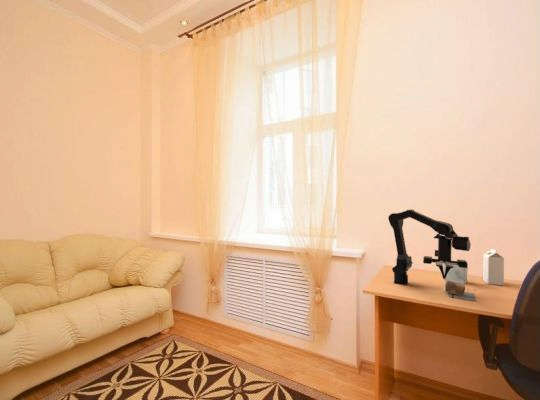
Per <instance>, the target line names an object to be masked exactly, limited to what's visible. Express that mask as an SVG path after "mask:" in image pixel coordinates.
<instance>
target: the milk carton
mask: <svg viewBox="0 0 540 400" xmlns="http://www.w3.org/2000/svg"><path fill="white" fill-rule="evenodd" d="M482 257H483V259H482V260H483V263H482V264H483V267H482V269H483V270H482V272H483V274H482V278H483V279H482V280H483V281H484V282H485V284H486V283H487V285H496V286H497V285H498V286H505V285H504V282H505V281H504V279H505V275H504V274H505V258H504V257H503V256H502V255H500V254H499V252H497V250H496V249H494V248H490V250H488V251H485V253H484V254H483V256H482Z"/></svg>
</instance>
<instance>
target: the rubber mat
mask: <svg viewBox="0 0 540 400" xmlns="http://www.w3.org/2000/svg"><path fill="white" fill-rule="evenodd" d="M452 297H453V299H458V300H463V301H464V300H465V301H470V302H475V303H476V302H477V298H476V296H475V293H473V292H468V291H467V292H466V291H465V292H464V296H459V295H456V294H452Z"/></svg>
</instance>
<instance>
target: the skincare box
mask: <svg viewBox="0 0 540 400" xmlns="http://www.w3.org/2000/svg"><path fill="white" fill-rule="evenodd" d="M445 268H446V264H444V263H443V271H444V273H445ZM446 280H447V281H450V282H454V283H458V284H462V285H465V284H466V283H468V267H467V268H461V267H459V266H458V265H453V268H451V269H450V270H449V272H448V274H447V276H446V278H445V279H443V281H446Z"/></svg>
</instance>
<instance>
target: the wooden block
mask: <svg viewBox="0 0 540 400" xmlns="http://www.w3.org/2000/svg"><path fill="white" fill-rule="evenodd" d="M444 281H445V282H444V286H443V291H444V292H446V293H448V292H449V293H451V294H452V295H453V294H456V295H459V296H464V292H466V286H465V284H461V283H456V282H451V281H447V280H444Z"/></svg>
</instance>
